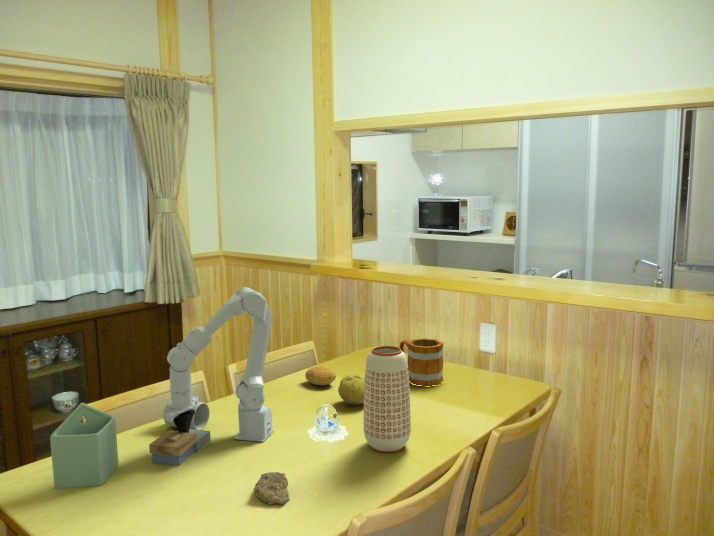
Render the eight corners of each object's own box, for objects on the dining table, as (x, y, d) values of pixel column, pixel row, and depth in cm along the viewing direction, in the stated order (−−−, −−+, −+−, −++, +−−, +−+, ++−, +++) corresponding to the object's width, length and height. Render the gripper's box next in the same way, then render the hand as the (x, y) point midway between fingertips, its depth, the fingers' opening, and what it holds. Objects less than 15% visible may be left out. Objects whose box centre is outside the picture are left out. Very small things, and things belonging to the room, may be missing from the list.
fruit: (332, 408, 195) (332, 379, 194) (346, 396, 206) (345, 369, 205) (363, 412, 191) (363, 383, 190) (376, 400, 202) (375, 372, 200)
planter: (67, 498, 140) (60, 419, 137) (54, 488, 145) (47, 411, 142) (132, 473, 152) (127, 400, 149) (117, 464, 157) (112, 393, 154)
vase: (415, 439, 170) (415, 345, 166) (404, 459, 157) (403, 358, 153) (372, 434, 174) (370, 341, 170) (357, 453, 161) (355, 354, 158)
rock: (252, 488, 144) (251, 502, 134) (258, 464, 144) (257, 476, 134) (287, 494, 145) (288, 508, 135) (292, 470, 145) (294, 483, 135)
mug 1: (160, 424, 177) (190, 429, 173) (167, 395, 180) (197, 400, 176) (182, 429, 188) (211, 433, 184) (189, 402, 190) (218, 406, 187)
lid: (196, 441, 163) (196, 430, 163) (179, 456, 155) (179, 444, 154) (168, 438, 165) (167, 428, 165) (149, 452, 157) (148, 441, 156)
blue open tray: (194, 452, 163) (194, 442, 163) (179, 465, 156) (178, 454, 155) (169, 449, 165) (168, 439, 165) (152, 462, 158) (152, 452, 157)
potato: (323, 378, 227) (322, 360, 226) (341, 386, 216) (340, 368, 215) (302, 382, 221) (301, 365, 220) (320, 392, 211) (319, 373, 210)
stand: (210, 440, 171) (210, 430, 171) (197, 452, 163) (196, 442, 163) (181, 437, 173) (180, 428, 173) (166, 449, 165) (166, 439, 165)
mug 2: (450, 381, 220) (451, 342, 218) (427, 390, 211) (427, 349, 209) (412, 370, 235) (412, 333, 233) (388, 377, 226) (388, 340, 224)
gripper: (181, 380, 171) (184, 425, 173) (153, 398, 157) (156, 445, 159) (203, 382, 170) (206, 427, 172) (177, 399, 156) (179, 448, 158)
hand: (183, 436), depth 165 cm, fingers closed
